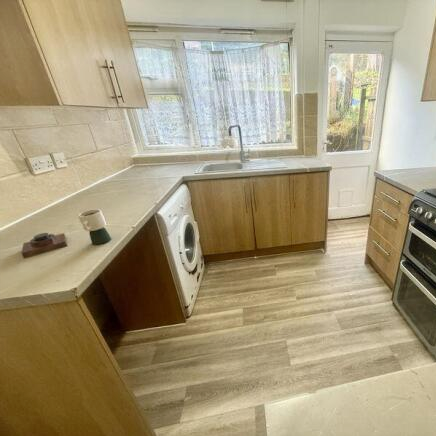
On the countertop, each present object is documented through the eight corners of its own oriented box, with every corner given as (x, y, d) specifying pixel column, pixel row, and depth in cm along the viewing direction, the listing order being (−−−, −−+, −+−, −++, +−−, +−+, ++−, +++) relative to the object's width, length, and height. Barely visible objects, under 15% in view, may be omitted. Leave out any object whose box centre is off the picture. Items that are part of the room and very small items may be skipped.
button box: (24, 258, 88) (18, 248, 86) (26, 248, 94) (21, 239, 93) (67, 246, 95) (63, 237, 93) (66, 237, 102) (62, 229, 100)
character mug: (99, 237, 102) (86, 208, 96) (118, 234, 103) (106, 206, 97) (84, 250, 92) (69, 219, 86) (105, 248, 93) (92, 217, 87)
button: (35, 242, 91) (33, 238, 90) (35, 239, 93) (33, 235, 93) (49, 239, 93) (47, 235, 92) (49, 235, 96) (48, 231, 95)
